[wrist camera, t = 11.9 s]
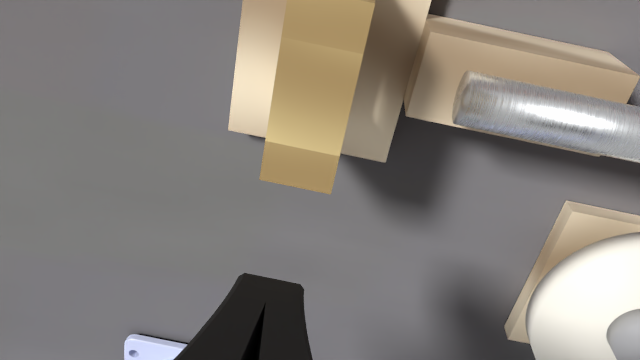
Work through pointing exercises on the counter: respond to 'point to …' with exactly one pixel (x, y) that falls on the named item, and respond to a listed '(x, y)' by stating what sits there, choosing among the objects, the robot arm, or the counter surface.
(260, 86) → the eye post
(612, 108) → the metal rod with cap
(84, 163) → the counter surface
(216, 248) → the counter surface
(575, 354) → the wheel
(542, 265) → the wheel pedestal
